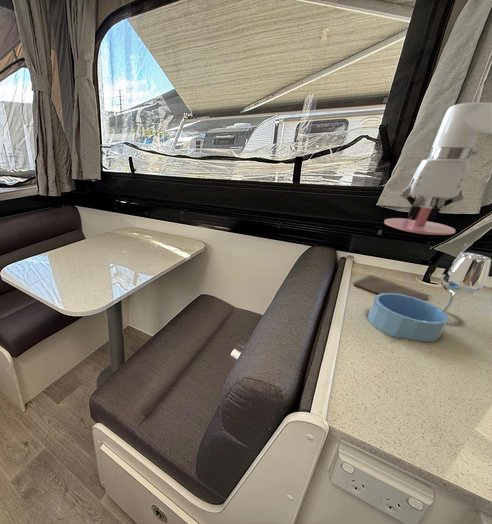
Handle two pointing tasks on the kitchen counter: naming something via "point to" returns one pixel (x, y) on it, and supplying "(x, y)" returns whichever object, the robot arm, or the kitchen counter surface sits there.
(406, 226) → the pink knobbed lid
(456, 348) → the kitchen counter surface
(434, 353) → the kitchen counter surface
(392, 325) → the bowl
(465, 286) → the wineglass
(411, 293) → the board
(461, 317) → the kitchen counter surface
